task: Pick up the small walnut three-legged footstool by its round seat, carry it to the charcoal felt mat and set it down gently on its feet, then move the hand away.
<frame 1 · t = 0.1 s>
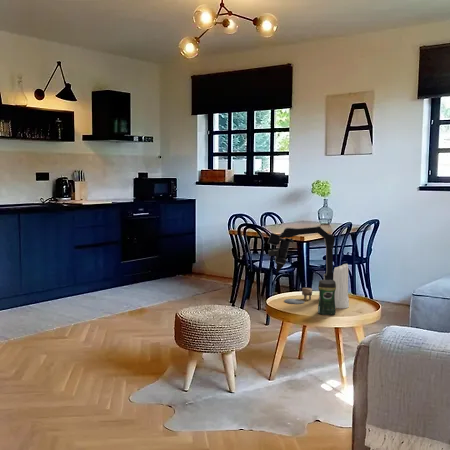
hand: (276, 271, 343), 15 cm above the table, tool pointing down, fingers open, 9 cm apart
decorative vase: (339, 306, 321), on the table
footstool: (306, 299, 338), on the table
coffee jar: (326, 313, 304), on the table
felt mat: (294, 301, 331), on the table
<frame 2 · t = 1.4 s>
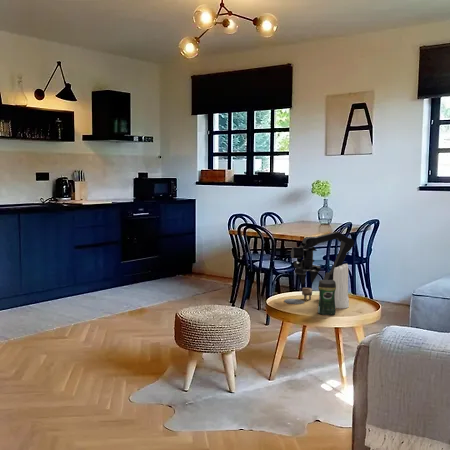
hand: (307, 283, 337), 10 cm above the table, tool pointing down, fingers open, 9 cm apart
nothing on the table moved.
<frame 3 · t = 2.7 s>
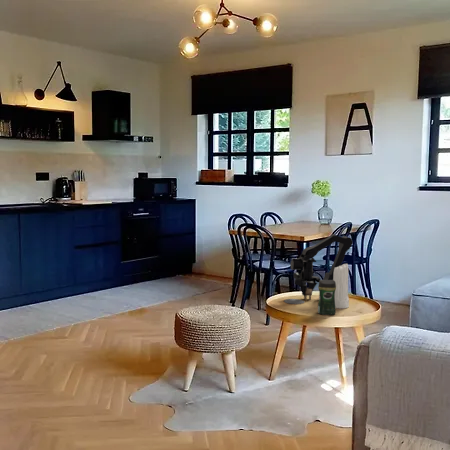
hand: (306, 294, 337), 3 cm above the table, tool pointing down, fingers closed on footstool, 6 cm apart
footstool: (306, 299, 338), on the table, touching gripper
everything else where it was.
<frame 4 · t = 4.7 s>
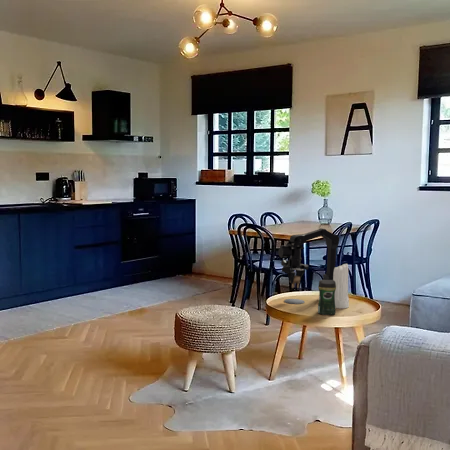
hand: (294, 282, 330), 12 cm above the table, tool pointing down, fingers closed on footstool, 6 cm apart
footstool: (294, 287, 330), point 9 cm above the table, touching gripper
everything else where it was.
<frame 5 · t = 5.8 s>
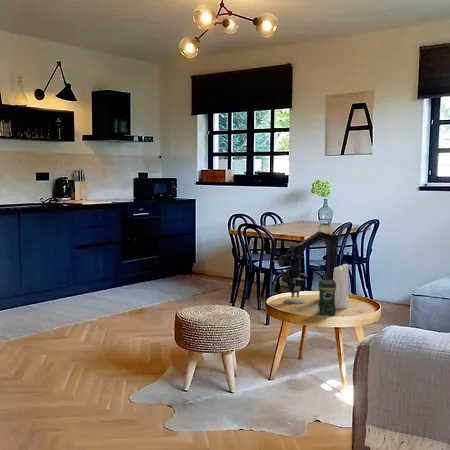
hand: (294, 292, 330), 6 cm above the table, tool pointing down, fingers closed on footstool, 6 cm apart
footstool: (294, 296, 330), point 3 cm above the table, touching gripper
everything else where it was.
when the fingers open (4 cm above the table, at t = 6.7 s): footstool drops 1 cm, resting on felt mat.
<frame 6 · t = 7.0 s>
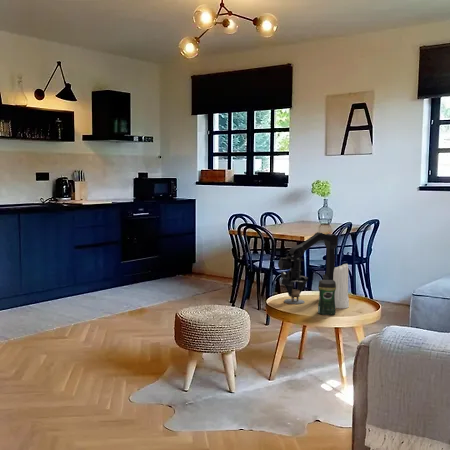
hand: (294, 294, 330), 4 cm above the table, tool pointing down, fingers open, 9 cm apart
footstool: (294, 301, 331), resting on felt mat
everything else where it was.
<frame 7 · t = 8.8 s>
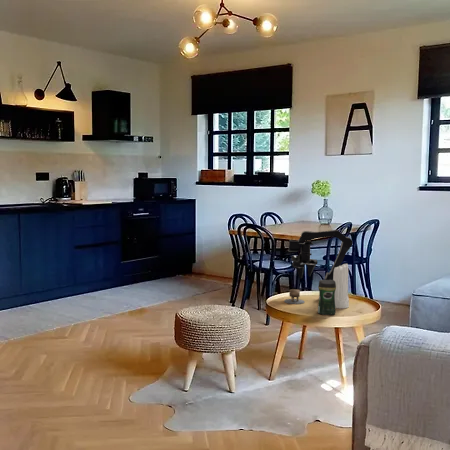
hand: (305, 277, 342), 13 cm above the table, tool pointing down, fingers open, 9 cm apart
nothing on the table moved.
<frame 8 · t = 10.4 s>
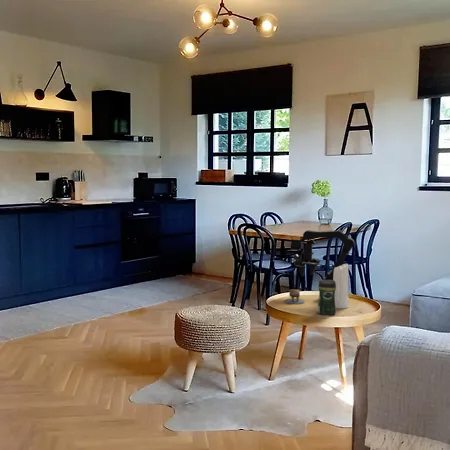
hand: (306, 275, 344), 13 cm above the table, tool pointing down, fingers open, 9 cm apart
nothing on the table moved.
at the end: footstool inside the target area on the felt mat (0.0 cm from its centre), point 0.4 cm above the felt mat's base; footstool tilted 0°; the gripper is holding nothing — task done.
